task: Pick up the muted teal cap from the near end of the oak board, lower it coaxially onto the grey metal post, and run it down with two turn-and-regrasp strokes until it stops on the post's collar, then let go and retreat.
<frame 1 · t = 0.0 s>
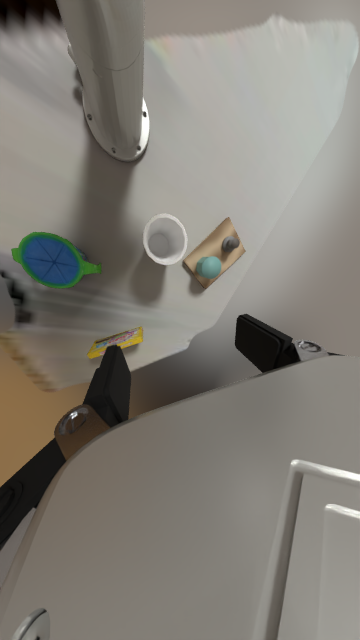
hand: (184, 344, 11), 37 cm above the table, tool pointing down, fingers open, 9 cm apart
candy box: (119, 334, 49), on the table
cap: (204, 266, 45), point 1 cm above the table, touching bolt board
snack cup: (73, 261, 37), on the table
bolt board: (214, 255, 46), on the table
foam cup: (158, 245, 41), on the table
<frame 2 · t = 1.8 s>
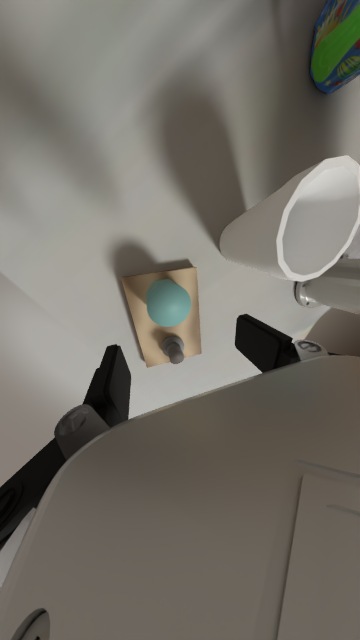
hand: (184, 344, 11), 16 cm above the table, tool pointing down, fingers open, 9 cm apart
cap: (164, 297, 23), point 1 cm above the table, touching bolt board
snack cup: (329, 52, 18), on the table
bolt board: (167, 319, 27), on the table
foam cup: (235, 242, 24), on the table
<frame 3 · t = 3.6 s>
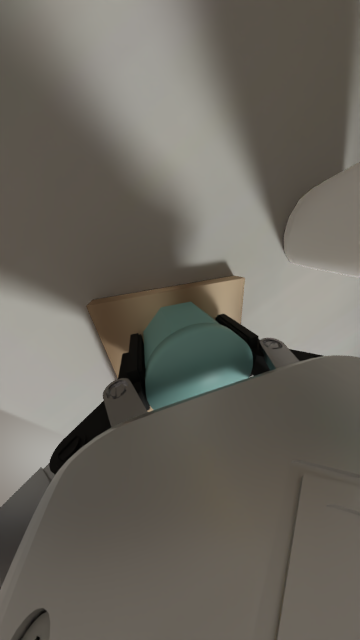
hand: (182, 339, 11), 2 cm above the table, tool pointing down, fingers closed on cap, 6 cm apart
cap: (180, 335, 12), point 1 cm above the table, touching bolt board, gripper
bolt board: (181, 366, 15), on the table
foam cup: (309, 229, 13), on the table
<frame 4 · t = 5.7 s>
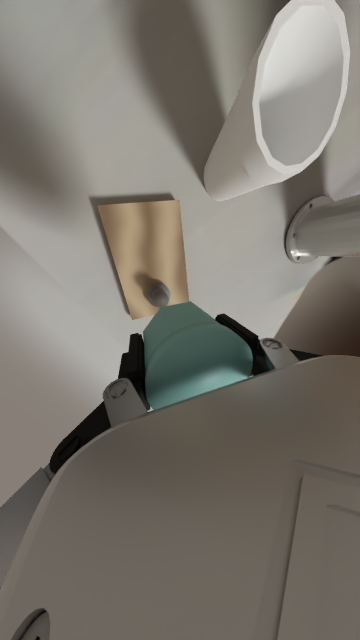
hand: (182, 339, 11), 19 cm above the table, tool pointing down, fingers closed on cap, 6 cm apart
cap: (180, 335, 12), point 18 cm above the table, touching gripper
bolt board: (152, 266, 26), on the table
foam cup: (220, 177, 23), on the table
when the fingers open (4 cm above the table, at t = 8.1 s): cap drops 1 cm, resting on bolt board.
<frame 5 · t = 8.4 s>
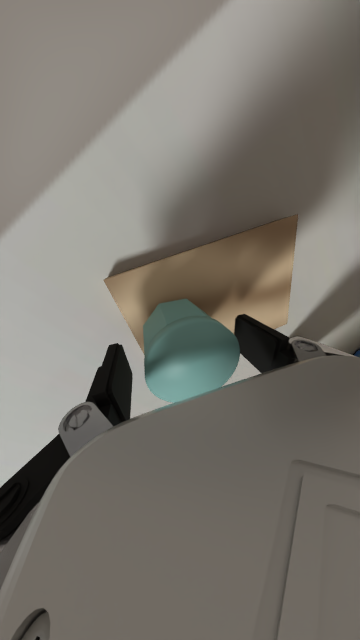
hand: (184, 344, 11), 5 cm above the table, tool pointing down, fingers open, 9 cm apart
cap: (176, 330, 13), point 2 cm above the table, touching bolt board
snack cup: (357, 356, 31), on the table
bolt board: (212, 303, 16), on the table
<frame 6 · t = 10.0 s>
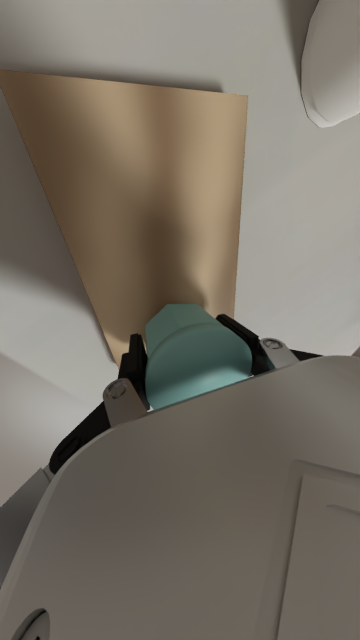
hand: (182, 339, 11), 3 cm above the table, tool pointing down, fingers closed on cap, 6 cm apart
cap: (180, 335, 12), point 3 cm above the table, touching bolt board, gripper
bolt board: (165, 272, 12), on the table
foam cup: (335, 62, 10), on the table
when the fingers open (3 cm above the table, at t = 11.3 s): cap stays where it is, resting on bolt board.
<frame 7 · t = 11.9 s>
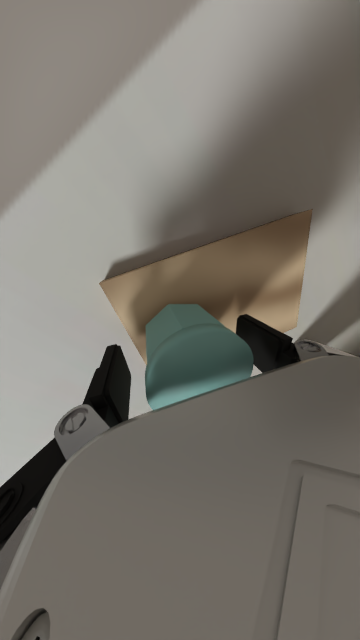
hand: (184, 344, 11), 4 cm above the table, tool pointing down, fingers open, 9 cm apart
cap: (180, 336, 12), point 2 cm above the table, touching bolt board
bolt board: (217, 306, 15), on the table
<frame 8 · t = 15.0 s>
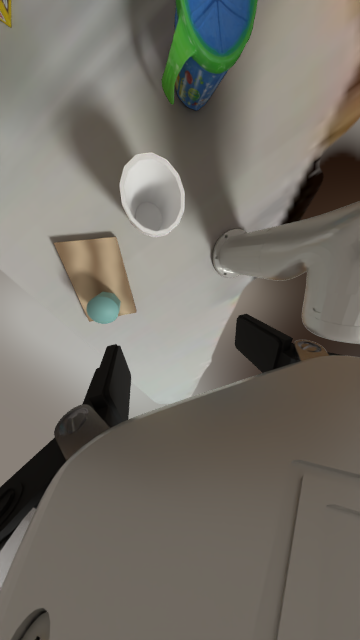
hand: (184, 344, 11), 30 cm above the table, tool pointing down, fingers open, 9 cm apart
cap: (107, 303, 34), point 2 cm above the table, touching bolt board
snack cup: (191, 82, 25), on the table
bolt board: (102, 281, 34), on the table
foam cup: (148, 219, 32), on the table
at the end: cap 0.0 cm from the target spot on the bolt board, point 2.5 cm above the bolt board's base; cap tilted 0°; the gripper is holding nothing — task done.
